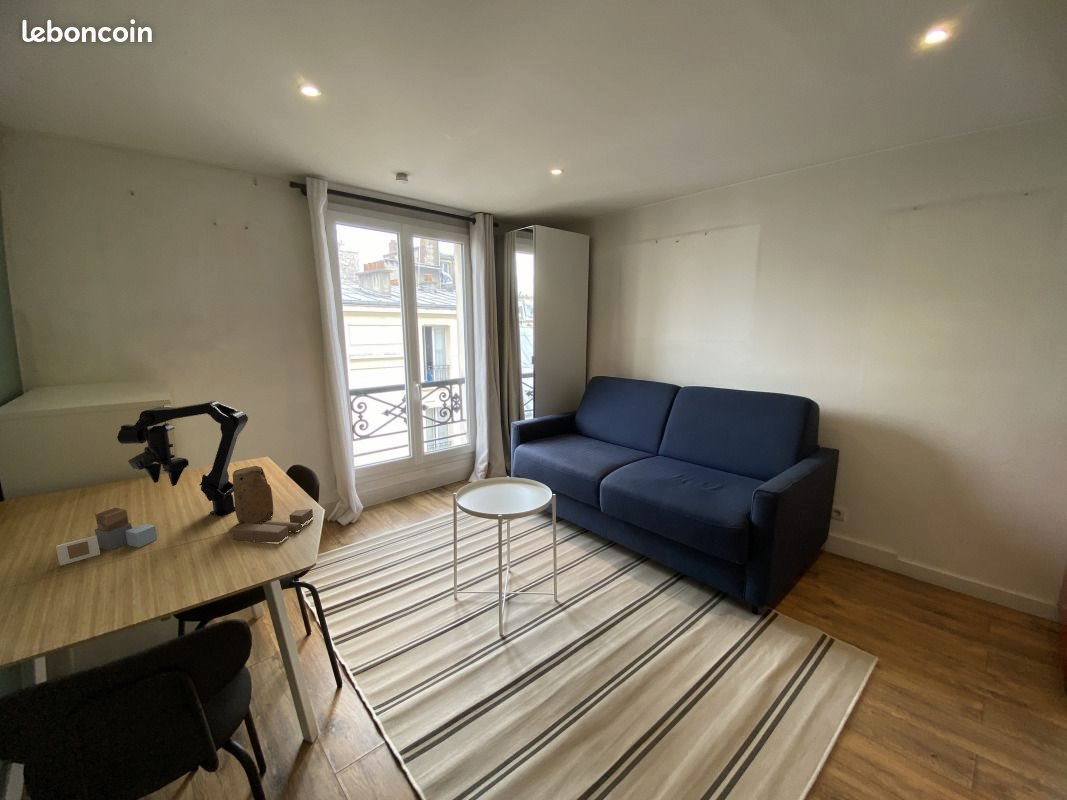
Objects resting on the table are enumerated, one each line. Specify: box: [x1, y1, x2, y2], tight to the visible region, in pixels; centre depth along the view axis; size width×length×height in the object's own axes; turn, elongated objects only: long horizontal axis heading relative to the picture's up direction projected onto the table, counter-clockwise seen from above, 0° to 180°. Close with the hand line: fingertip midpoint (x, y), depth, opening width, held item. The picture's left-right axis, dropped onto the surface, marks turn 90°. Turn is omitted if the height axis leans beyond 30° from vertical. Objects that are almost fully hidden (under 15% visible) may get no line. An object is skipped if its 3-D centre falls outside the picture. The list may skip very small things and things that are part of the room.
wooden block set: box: [231, 508, 314, 543], centre depth 138 cm, size 17×6×18 cm
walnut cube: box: [94, 507, 130, 531], centre depth 127 cm, size 5×5×5 cm
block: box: [232, 465, 274, 525], centre depth 143 cm, size 11×8×20 cm
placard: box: [55, 535, 101, 566], centre depth 119 cm, size 1×8×6 cm, turn 139°
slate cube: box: [125, 523, 158, 549], centre depth 129 cm, size 5×5×5 cm
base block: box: [94, 522, 133, 551], centre depth 128 cm, size 6×6×6 cm
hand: (165, 484), depth 146 cm, fingers open, 9 cm apart
